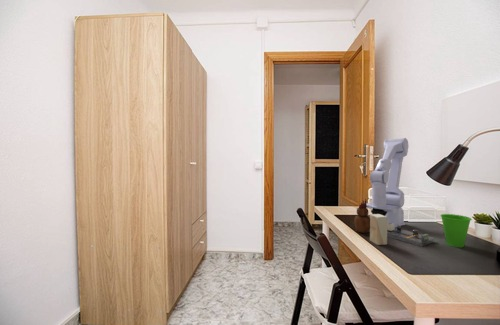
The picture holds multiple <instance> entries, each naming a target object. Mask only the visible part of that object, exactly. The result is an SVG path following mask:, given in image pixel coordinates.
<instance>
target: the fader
mask: <svg viewBox="0 0 500 325" xmlns="http://www.w3.org/2000/svg"><path fill="white" fill-rule="evenodd" d="M395 228H396V227H395V224H393V223H387V230H389V231H392V230H395Z"/></svg>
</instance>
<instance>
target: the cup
mask: <svg viewBox="0 0 500 325" xmlns="http://www.w3.org/2000/svg"><path fill="white" fill-rule="evenodd" d="M440 217H441V221H442V226H443V232H444V238H445V242H446V244H447V245H448V246H450V247H454V248H464V246H465V244H466V241H467V235H468V231H469V227H470V225H471V224H470V223H471V221H472V218H471V217H468V216H466V215H461V214H455V213H454V214H453V213H452V214H451V213H443V214H440Z"/></svg>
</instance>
